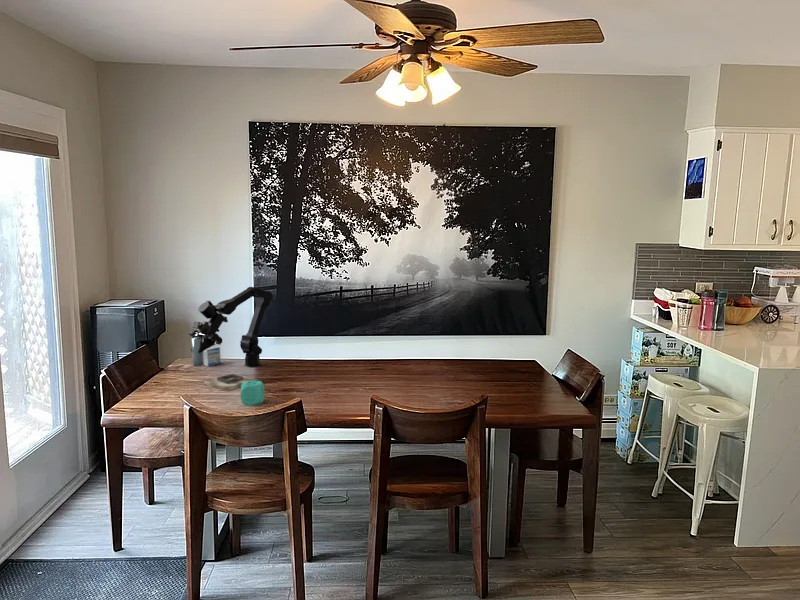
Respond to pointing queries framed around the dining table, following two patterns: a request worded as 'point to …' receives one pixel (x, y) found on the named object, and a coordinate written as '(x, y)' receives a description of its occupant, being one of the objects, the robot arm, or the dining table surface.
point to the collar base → (228, 381)
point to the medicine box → (212, 356)
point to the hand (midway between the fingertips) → (195, 352)
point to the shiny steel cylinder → (197, 357)
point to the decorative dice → (252, 392)
